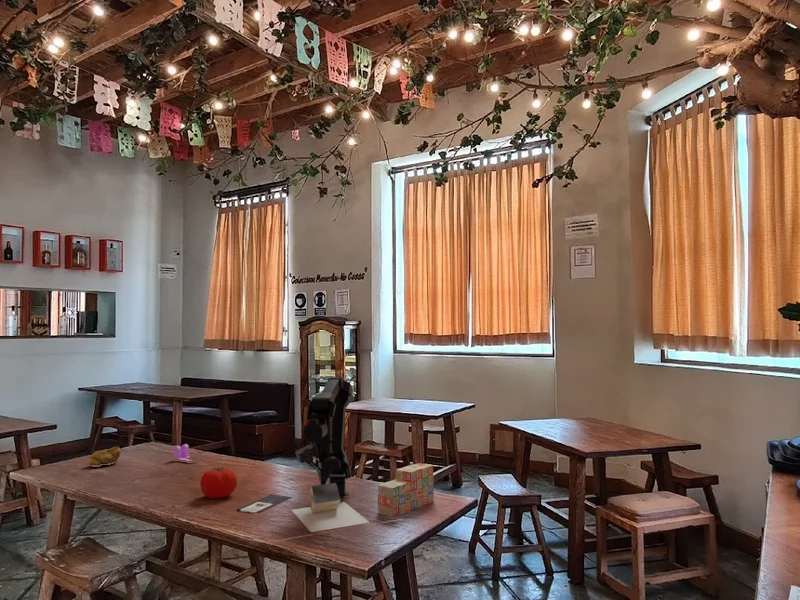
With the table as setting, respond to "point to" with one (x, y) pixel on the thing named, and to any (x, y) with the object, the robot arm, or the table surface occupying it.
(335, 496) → the beech block
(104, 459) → the bread roll
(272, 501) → the chocolate bar
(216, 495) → the tomato
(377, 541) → the table surface
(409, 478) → the stack of blocks
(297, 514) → the rubber mat
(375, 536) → the table surface
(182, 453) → the purple twin post stand
